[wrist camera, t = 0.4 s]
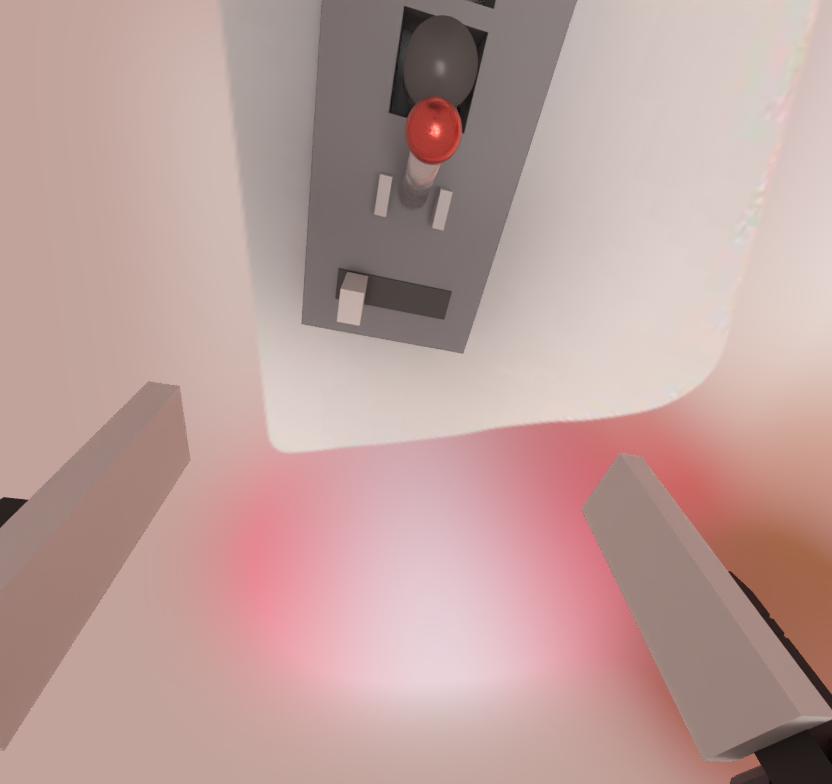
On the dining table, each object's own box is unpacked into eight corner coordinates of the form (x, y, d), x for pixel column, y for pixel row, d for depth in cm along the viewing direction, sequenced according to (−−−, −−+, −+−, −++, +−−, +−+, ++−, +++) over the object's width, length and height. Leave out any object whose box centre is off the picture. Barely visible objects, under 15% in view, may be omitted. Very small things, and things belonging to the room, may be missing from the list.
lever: (395, 175, 26) (414, 72, 17) (435, 184, 27) (473, 90, 18) (389, 216, 26) (403, 136, 17) (428, 225, 27) (463, 152, 18)
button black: (409, 32, 24) (412, 4, 19) (469, 51, 25) (487, 28, 20) (397, 108, 26) (397, 101, 21) (453, 124, 27) (465, 120, 22)
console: (350, -178, 21) (331, -301, 15) (581, -89, 23) (643, -167, 17) (312, 302, 36) (296, 334, 30) (455, 330, 38) (466, 364, 32)
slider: (347, 271, 29) (340, 288, 26) (368, 276, 29) (364, 293, 26) (343, 301, 30) (336, 321, 27) (363, 305, 30) (359, 325, 27)
